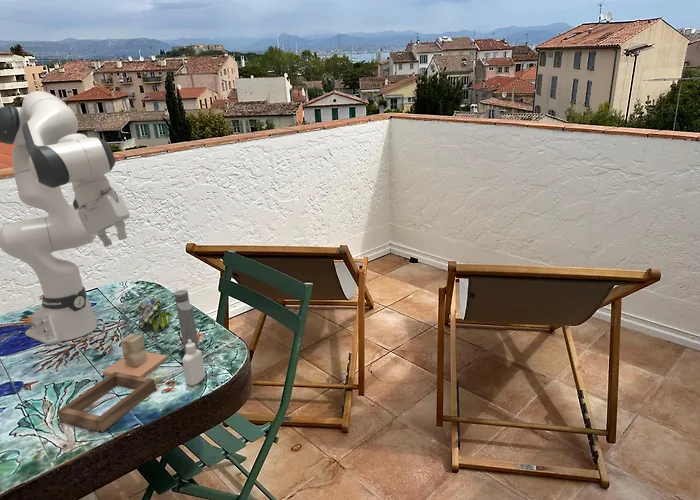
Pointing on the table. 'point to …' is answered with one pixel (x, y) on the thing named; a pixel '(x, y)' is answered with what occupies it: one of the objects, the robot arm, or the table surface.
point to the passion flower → (149, 312)
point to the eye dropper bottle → (193, 364)
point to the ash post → (133, 350)
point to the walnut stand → (101, 423)
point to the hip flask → (186, 318)
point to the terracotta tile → (142, 370)
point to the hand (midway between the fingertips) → (115, 242)
